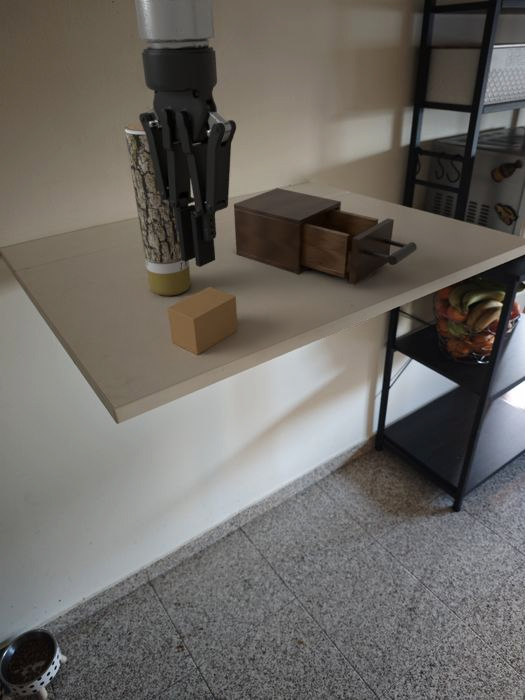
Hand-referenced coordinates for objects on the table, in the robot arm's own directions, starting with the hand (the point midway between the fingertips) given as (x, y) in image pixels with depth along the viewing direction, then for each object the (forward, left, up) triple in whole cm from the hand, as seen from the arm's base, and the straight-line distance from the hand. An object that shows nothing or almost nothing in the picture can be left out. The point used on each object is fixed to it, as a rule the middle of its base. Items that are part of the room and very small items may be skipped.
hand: (198, 259), depth 64 cm
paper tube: (+12, -12, -12) cm, 21 cm away
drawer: (-15, -27, -11) cm, 33 cm away
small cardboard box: (0, 0, -12) cm, 12 cm away
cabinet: (-2, -32, -12) cm, 34 cm away
